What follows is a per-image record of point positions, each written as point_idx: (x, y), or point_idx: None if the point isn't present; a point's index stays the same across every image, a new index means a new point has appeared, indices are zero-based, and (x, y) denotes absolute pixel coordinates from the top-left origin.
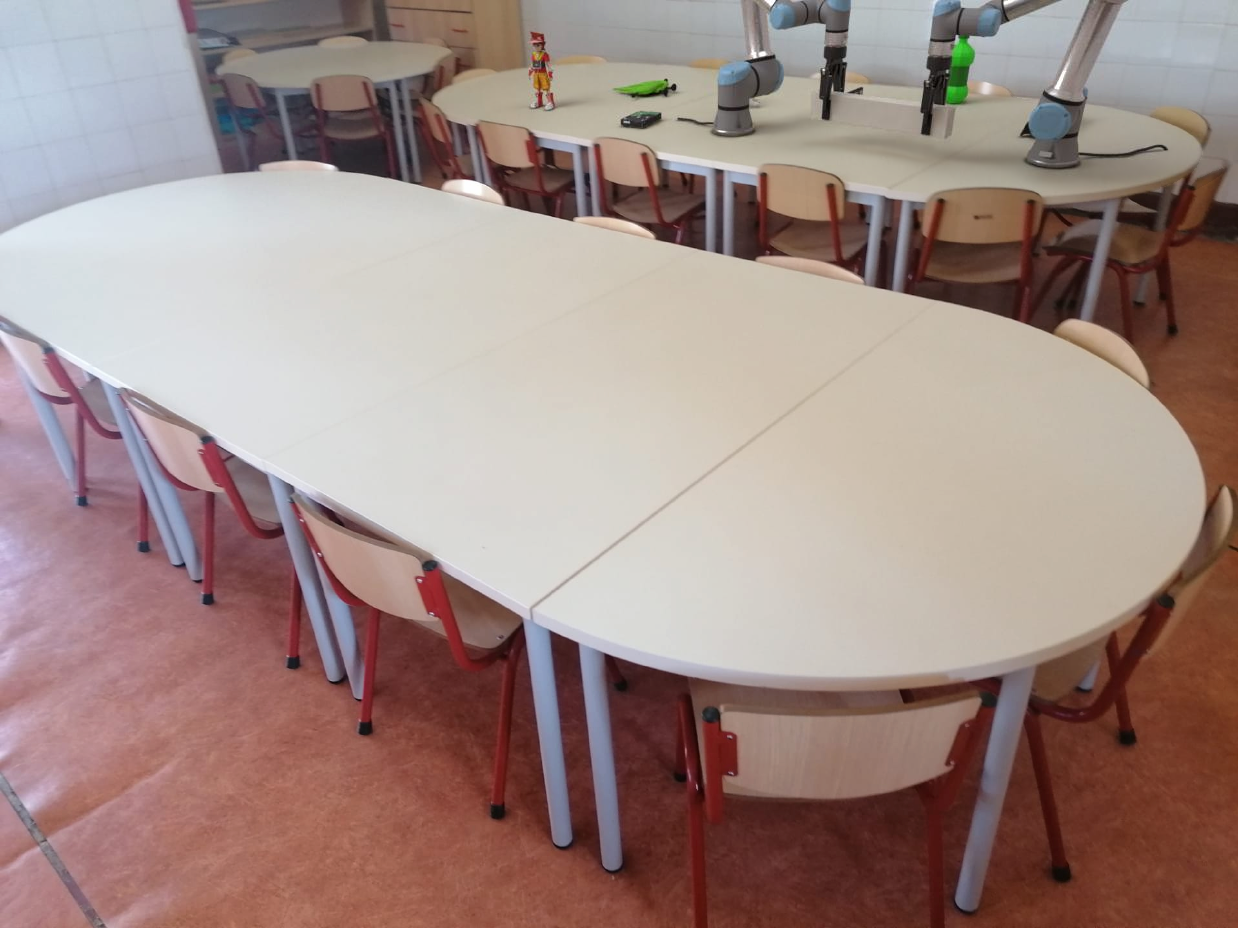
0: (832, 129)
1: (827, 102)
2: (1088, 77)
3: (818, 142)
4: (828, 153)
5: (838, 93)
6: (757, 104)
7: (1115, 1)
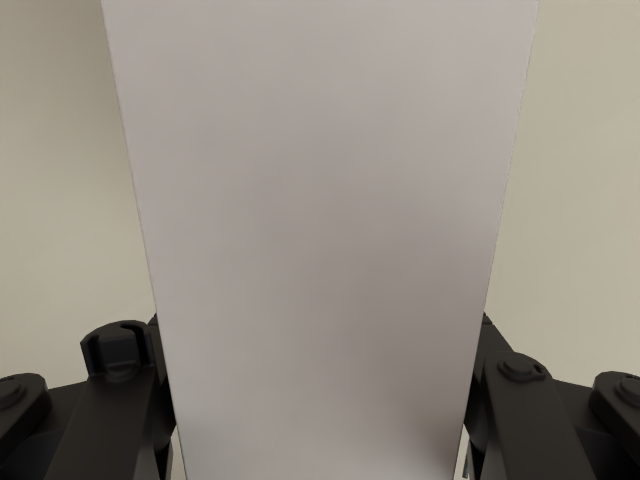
0: (77, 321)
1: (477, 349)
2: None
3: None
4: None
5: (293, 357)
6: None
7: None
